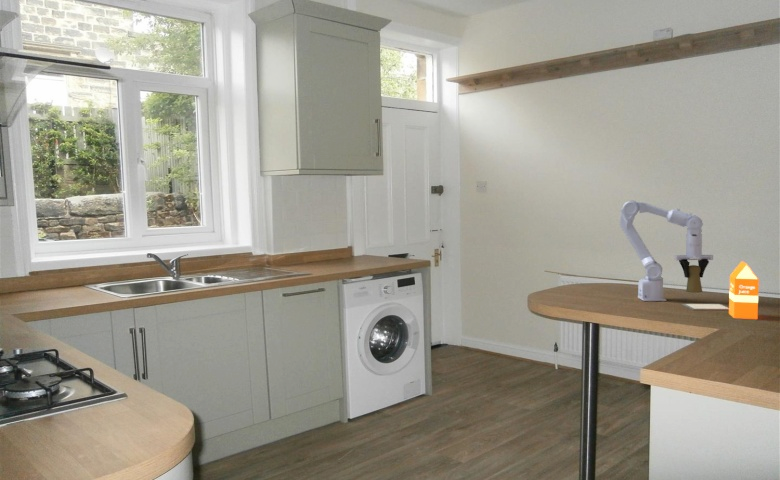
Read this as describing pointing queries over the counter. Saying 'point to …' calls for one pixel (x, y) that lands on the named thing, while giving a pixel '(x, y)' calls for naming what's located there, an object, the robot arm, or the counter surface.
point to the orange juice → (743, 293)
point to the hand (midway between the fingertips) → (693, 277)
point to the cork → (694, 280)
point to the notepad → (706, 306)
